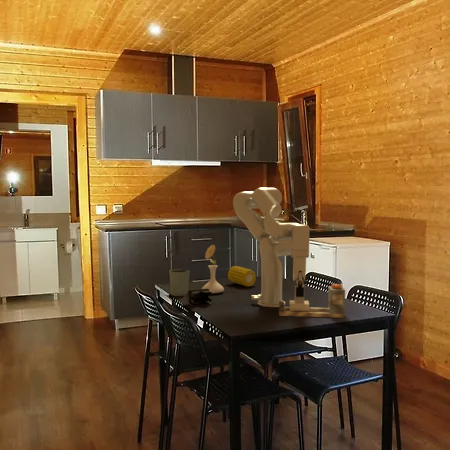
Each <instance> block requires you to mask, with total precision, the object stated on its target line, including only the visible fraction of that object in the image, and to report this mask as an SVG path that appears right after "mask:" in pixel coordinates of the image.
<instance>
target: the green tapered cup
mask: <svg viewBox="0 0 450 450" xmlns="http://www.w3.org/2000/svg"><path fill="white" fill-rule="evenodd" d="M168 272H169V284H170V295H171V296H174V297H182V296H183V297H184V296H187V292H188V290H189V280H190V272H191V271H190V270H189V269H183V268H181V269H180V268H176V269H174V268H173V269H169V271H168Z"/></svg>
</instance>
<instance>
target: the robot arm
mask: <svg viewBox="0 0 450 450" xmlns="http://www.w3.org/2000/svg"><path fill="white" fill-rule="evenodd" d="M282 200H283V195H282V192H281V191H280V190H279V189H278V188H275V187H258V188H256V189H254V190H253V191H252V190H251V191H246V190H245V191H239V192H238V193H236V194H234V196H233V200H232V206H233V209H234V212H235V214H236V216H237V217H238V218H239V219H240V221H242V222H243V224H244V225H245V227H246V228H247V229H248V231H249V232H250V233H251V235H252V236H253V238H254V239H255V240H256V241H258V242H259V246H258V247H259V253H260V263H261V269H260V270H261V275H260V276H261V277H260V278H261V280H260V281H261V282H260V283H261V285H260V286H261V290H260V291H261V292H260V294H257V295H256V294H252V295H251V300H254V301H257V305H258V306H261V307H265V308H279V301H283V264H282V262H281V259H280V258H279V257H285V256H286V257H288V256H290V257H291V258H293V259H292V260H293V261H292V279H293V282H295V285H297V287H296V297H304V298H305V286H304V282H305V280H306V273H307V272H306V271H307V259H308V258H310V226H309V225H307V224H305V223H304V224H303V223H298V222H280V221H278V220H276V219H277V218H278V217H279V215H280V214H281V212H282V206H281V203H282ZM255 209H259V211H260V212H261V213H262V214H263V216H264V217H262V216H261V214H260V213H259V212H257V211H256V210H255ZM295 285H294V286H295ZM303 286H304V287H303ZM284 306H286V301H284Z"/></svg>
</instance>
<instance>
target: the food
mask: <svg viewBox="0 0 450 450" xmlns="http://www.w3.org/2000/svg"><path fill="white" fill-rule="evenodd" d="M227 272H228V273H227V276H228V277H227V278H228V280H229V281H230V282H231V283H234V284H236V285H240V286H243V287H246V288H247V287H252V286H253V285H254V284H255V282H256V278H257V277H256V273H255V271H253V270H252V269H250V268H246V267H242V266H238V265H233V266H231V267H230V268H229V270H228V271H227Z"/></svg>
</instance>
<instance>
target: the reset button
mask: <svg viewBox="0 0 450 450" xmlns="http://www.w3.org/2000/svg"><path fill="white" fill-rule="evenodd" d="M331 286H332V288H334V289H341V287H342V286H343V285H342V284H338V283H333V284H331Z"/></svg>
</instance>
